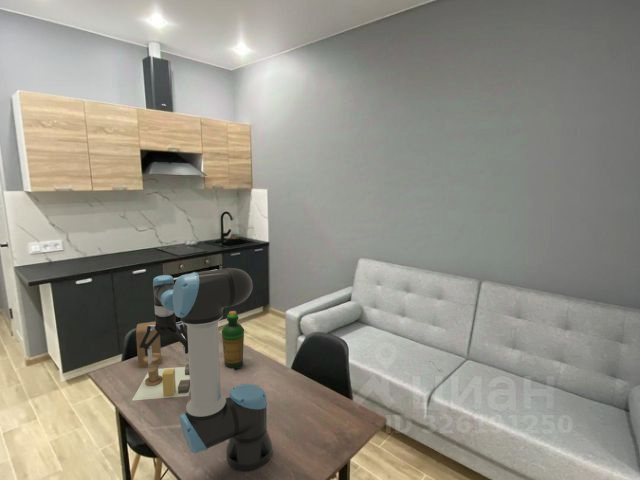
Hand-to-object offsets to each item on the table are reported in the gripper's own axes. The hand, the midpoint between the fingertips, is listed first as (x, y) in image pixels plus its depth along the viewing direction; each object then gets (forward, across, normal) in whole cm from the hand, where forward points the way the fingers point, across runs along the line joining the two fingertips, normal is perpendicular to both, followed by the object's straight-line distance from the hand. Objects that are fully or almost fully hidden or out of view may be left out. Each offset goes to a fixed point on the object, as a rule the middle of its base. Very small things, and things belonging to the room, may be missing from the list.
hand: (167, 361), depth 145 cm
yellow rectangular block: (+14, 0, 0) cm, 14 cm away
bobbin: (+15, +9, -10) cm, 20 cm away
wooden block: (+16, +16, -29) cm, 36 cm away
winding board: (+16, +3, -9) cm, 18 cm away
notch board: (+14, -6, -9) cm, 18 cm away
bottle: (+16, -25, -21) cm, 36 cm away
